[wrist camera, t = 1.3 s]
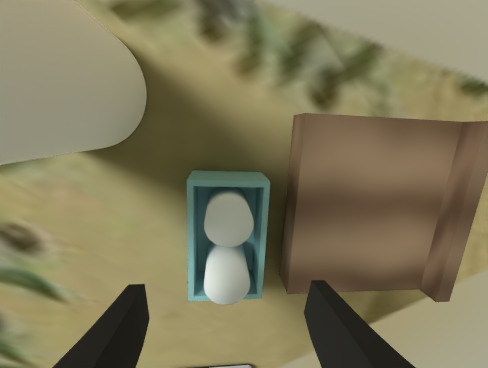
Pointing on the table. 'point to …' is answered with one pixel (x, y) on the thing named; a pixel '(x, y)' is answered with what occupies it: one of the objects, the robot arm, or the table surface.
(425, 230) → the brown flat block
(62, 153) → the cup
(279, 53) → the table surface
